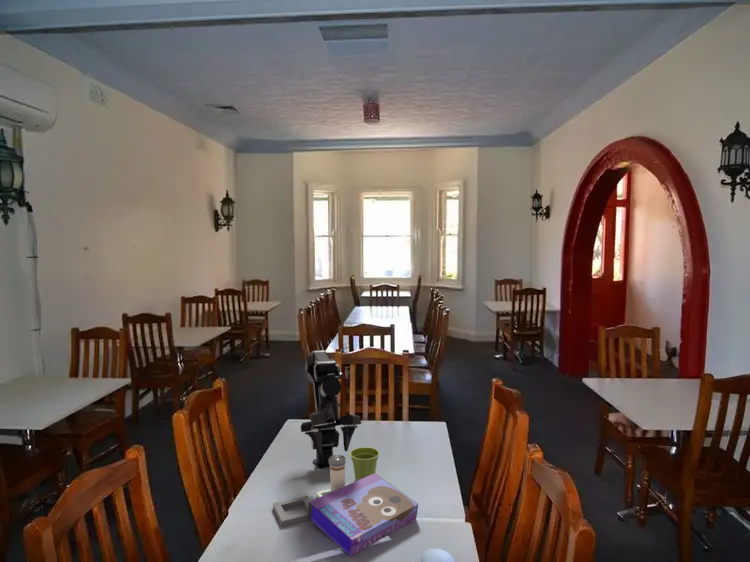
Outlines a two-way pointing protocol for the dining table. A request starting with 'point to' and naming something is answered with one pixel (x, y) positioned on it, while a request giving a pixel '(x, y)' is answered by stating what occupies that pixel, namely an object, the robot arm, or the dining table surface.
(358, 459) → the plant pot
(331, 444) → the robot arm
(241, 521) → the dining table surface
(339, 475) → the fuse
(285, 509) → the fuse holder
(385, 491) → the cereal box
